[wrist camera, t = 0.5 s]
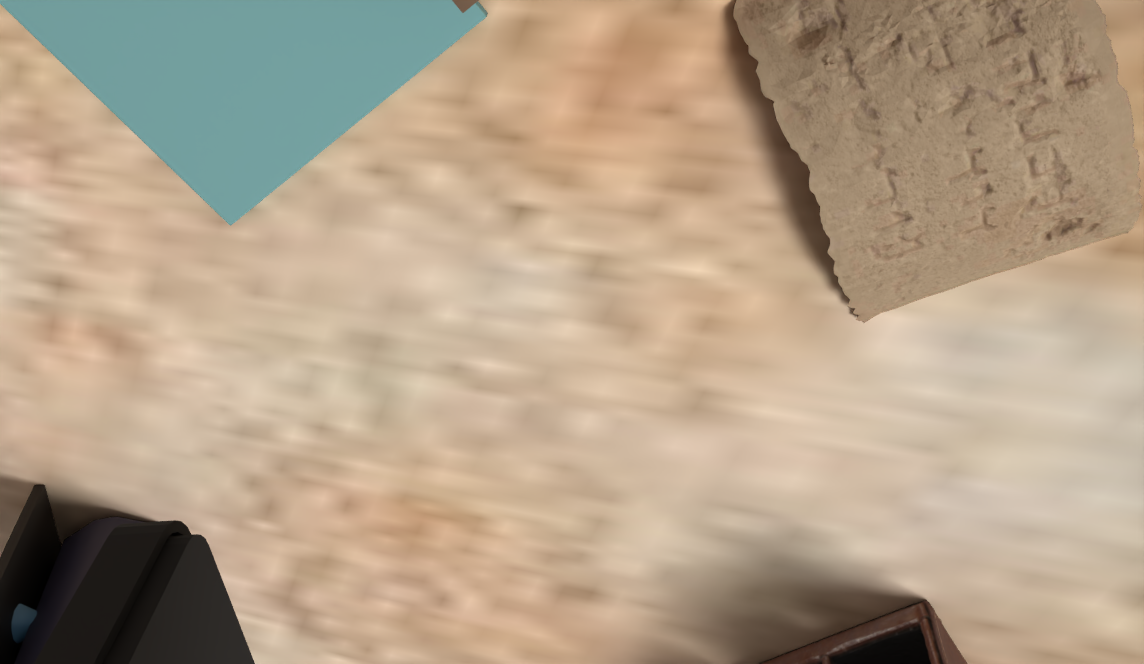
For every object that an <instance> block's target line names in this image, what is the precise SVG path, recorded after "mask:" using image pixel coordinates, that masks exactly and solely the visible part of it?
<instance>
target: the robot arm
mask: <svg viewBox="0 0 1144 664" xmlns="http://www.w3.org/2000/svg"><path fill="white" fill-rule="evenodd" d="M34 664H255V663H254V660H253V658H252V655H251V653H250V650H249V648H248V645H247V642H246V640H245V637H244V635H243V632H242V630H241V627H240V624H239V622H238V619H237V617H236V614H235V612H234V609H233V606H232V604H231V601H230V599H229V596H228V594H227V591H226V588H225V586H224V583H223V581H222V578H221V575H220V573H219V570H218V568H217V565H216V563H215V560H214V557H213V555H212V552H211V550H210V547H209V545H208V543H207V541H206V539H205V538H204V537H203V536H202V535H191V533H190V531H189V529H188V527H187V526H186V525H185V524H184V523H182V522H181V521H160V522H144V523H127V524H121V525H119V526H117V527H115V528H114V529H113V531H112V532H111V533H110V534H109V536H108V537H107V539H106V541H105V542H104V544H103V546H102V548H101V549H100V551H99V553H98V554H97V556H96V558H95V560H94V561H93V563H92V565H91V566H90V568H89V570H88V572H87V573H86V575H85V577H84V578H83V580H82V582H81V584H80V585H79V587H78V589H77V590H76V592H75V594H74V596H73V597H72V599H71V601H70V602H69V604H68V606H67V608H66V609H65V611H64V613H63V614H62V616H61V618H60V619H59V621H58V623H57V625H56V626H55V628H54V630H53V631H52V633H51V635H50V637H49V638H48V640H47V642H46V643H45V645H44V647H43V649H42V650H41V652H40V654H39V655H38V657H37V659H36V661H35V662H34Z"/></svg>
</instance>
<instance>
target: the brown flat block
mask: <svg viewBox="0 0 1144 664" xmlns="http://www.w3.org/2000/svg"><path fill="white" fill-rule="evenodd" d="M452 1H453V2H454V3H455V5H456V6H457V7H458V8H459V9H460V11H461V12H462V13H464V12H465V11H466V10H468V9H469V8H470V7H471V6H473V5H474V4H475V3H476V2H477V1H479V0H452Z"/></svg>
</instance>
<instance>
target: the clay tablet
mask: <svg viewBox="0 0 1144 664" xmlns="http://www.w3.org/2000/svg"><path fill="white" fill-rule="evenodd" d="M733 17H734V19H735V20H736V22H737V24H738V29H739V32H740V34H741V35H742V37H743V39H744V41H745V43H746V44H747V45H748V46H749V54H750V55H751V56H752V57H754V58H755V59H756V60H757V61H758V66H757V69H756V73H757V75H758V77H759V80H760V85H761V91H762V93H763V95H764V96H765V98H766V97H767V98H769V99H771V100H772V101H774V104H773V107H774V111H775V115H776V120H777V121H778V123H779V125H780V127H781V130H782V132H783V134H784V136H785V137H786V139H787V141H788V142H789V144H790V147H791V148H792V149H793V150H794V151H796V152H797V153H798V154H799V157H800V159H801V161H803V162H804V163H805V164H807V165H808V169H809V171H810V177H809V189H810V191H811V192H812V193H813V194H814V195H815V197H816V200H817V202H818V204H819V206H820V217H821V223H822V225H823V230H824V231H825V233H826V235H827V236H828V237H829V238H830V247H829V249H828V252H827V253H828V254H829V255H830V256H831V258H832V259H833V260H834V261H835V264H834V274H835V275H836V276H838V283H839V285H840V286H841V287H842V288H843V292H844V295H846V296H847V297H848V298H849V299H850V301H849V304H848V307H850V308H855V310H854V312H853V313H854V314H856V315H858V317H857V319H856V320H858V321H863V322H866V321H868V320H870V319H871V318H873V317H874V316H876V315H878V314H880V313H882V312H885V311H889V310H893V309H896V308H898V307H901V306H904V305H906V304H909V303H911V302H914V301H917V300H919V299H922V298H925V297H928V296H931V295H934V294H938V293H941V292H944V291H947V290H950V289H952V288H955V287H958V286H961V285H963V284H966V283H969V282H971V281H975V280H978V279H981V278H984V277H987V276H990V275H993V274H996V273H1000V272H1003V271H1007V270H1010V269H1014V268H1017V267H1020V266H1023V265H1027V264H1030V263H1033V262H1036V261H1039V260H1042V259H1044V258H1046V257H1049V256H1052V255H1056V254H1060V253H1063V252H1066V251H1069V250H1073V249H1076V248H1079V247H1082V246H1086V245H1089V244H1091V243H1094V242H1097V241H1101V240H1104V239H1107V238H1111V237H1115V236H1118V235H1121V234H1125V233H1128V232H1129V231H1130V230H1131V229H1132V228H1133V227H1134V223H1135V222H1136V221H1137V220H1138V217H1139V213H1140V210H1141V207H1142V204H1141V203H1140V202H1139V201H1140V199H1141V197H1142V196H1141V195H1139V189H1140V182H1141V180H1140V178H1139V177H1138V176H1137V173H1138V170H1139V164H1140V162H1139V155H1138V150H1137V149H1135V148H1134V147H1132V146H1133V143H1134V140H1135V139H1134V129H1133V127H1134V125H1133V118H1132V112H1131V106H1130V102H1129V98H1128V94H1127V91H1126V90H1125V89H1124V88H1123V87H1122V86H1121V85H1120V84H1119V83H1118V79H1117V75H1118V63H1117V61H1116V55H1115V54H1114V52H1113V50H1112V47H1111V40H1110V39H1109V38H1108V36H1107V35H1106V27H1107V25H1106V18H1105V14H1104V13H1102V11H1101V8H1100V6H1099V5H1098V4H1097V2H1096V1H1095V0H736V3H735V7H734V14H733Z"/></svg>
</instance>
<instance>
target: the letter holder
mask: <svg viewBox="0 0 1144 664" xmlns="http://www.w3.org/2000/svg"><path fill="white" fill-rule="evenodd" d="M761 664H967V662H966V661H965V659H964V658H963V656H962V655H961V653H960V652H959V650H958V648H957V647H956V645H955V644H954V642H953V641H952V639H951V638H950V636H949V634H948V633H947V631H946V630H945V628H944V626H943V625H942V622H941V620H940V619H939V618H938V616H937V614H936V613H935V611H934V609H933V608H932V606H931V605H930V603H929V602H927V601H922V602H920V603H917V604H913V605H910V606H908V607H905V608H903V609H900V610H897V611H895V612H892V613H889V614H887V615H884V616H882V617H879V618H876V619H874V620H871V621H869V622H866V623H864V624H861V625H858V626H856V627H853V628H851V629H848V630H845V631H843V632H840V633H838V634H835V635H833V636H830V637H828V638H825V639H822V640H820V641H818V642H815V643H812V644H809V645H807V646H804V647H802V648H799V649H796V650H794V651H791V652H789V653H786V654H784V655H781V656H778V657H776V658H774V659H771V660H769V661H766V662H763V663H761Z"/></svg>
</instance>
